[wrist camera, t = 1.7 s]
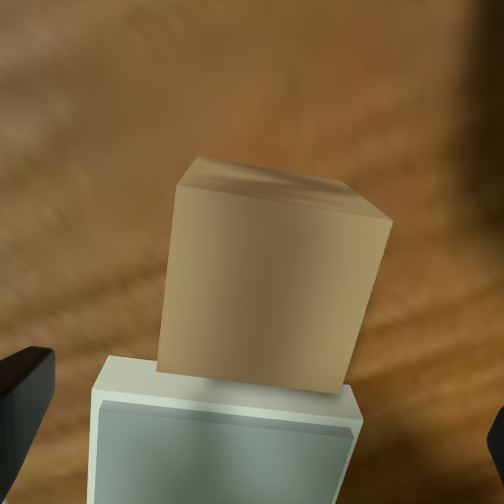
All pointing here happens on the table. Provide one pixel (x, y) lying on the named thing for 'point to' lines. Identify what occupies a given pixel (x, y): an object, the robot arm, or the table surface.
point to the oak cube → (267, 276)
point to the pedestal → (214, 439)
